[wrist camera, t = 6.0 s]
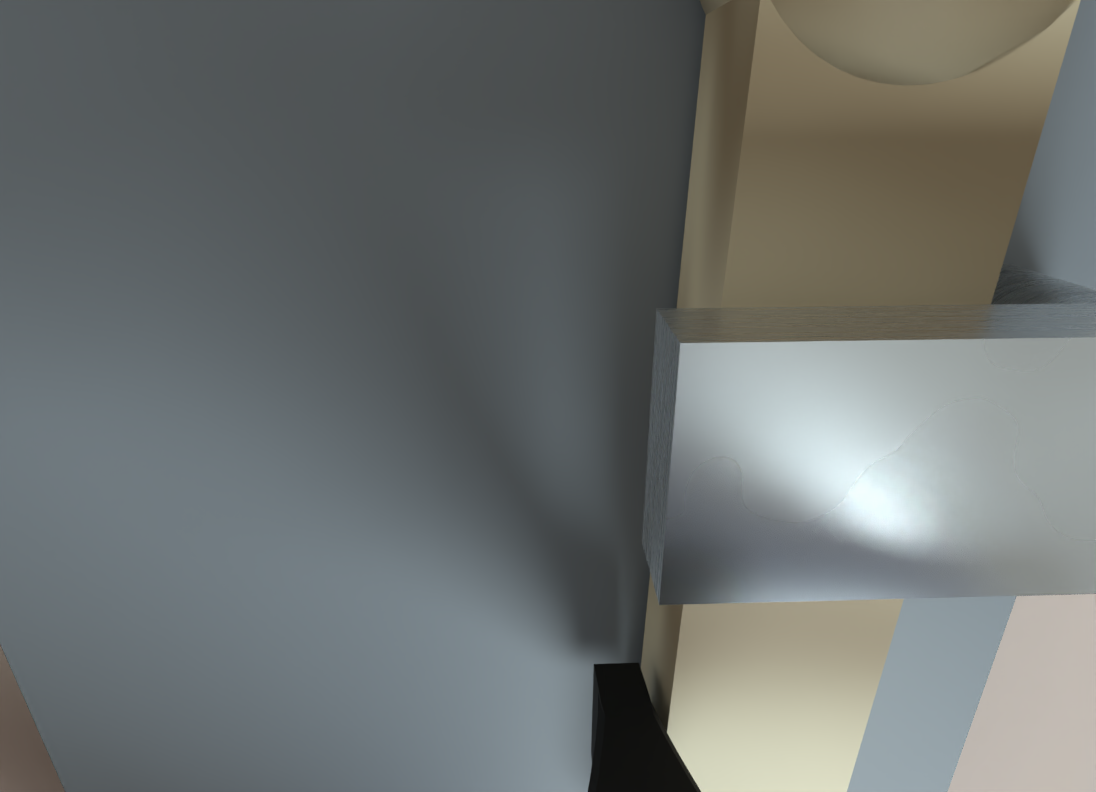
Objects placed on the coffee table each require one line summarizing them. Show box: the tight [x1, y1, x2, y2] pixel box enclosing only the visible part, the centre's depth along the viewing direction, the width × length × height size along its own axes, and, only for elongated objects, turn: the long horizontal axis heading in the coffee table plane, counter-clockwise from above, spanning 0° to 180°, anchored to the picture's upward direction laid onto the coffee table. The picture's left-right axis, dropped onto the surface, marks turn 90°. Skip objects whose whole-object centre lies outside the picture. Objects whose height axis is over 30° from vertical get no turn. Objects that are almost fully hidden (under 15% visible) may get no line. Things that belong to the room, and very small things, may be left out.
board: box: [0, 0, 1096, 792], centre depth 10 cm, size 21×18×1 cm
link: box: [641, 0, 1081, 792], centre depth 9 cm, size 18×4×3 cm, turn 179°
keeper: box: [642, 264, 1096, 605], centre depth 8 cm, size 3×6×4 cm, turn 90°
